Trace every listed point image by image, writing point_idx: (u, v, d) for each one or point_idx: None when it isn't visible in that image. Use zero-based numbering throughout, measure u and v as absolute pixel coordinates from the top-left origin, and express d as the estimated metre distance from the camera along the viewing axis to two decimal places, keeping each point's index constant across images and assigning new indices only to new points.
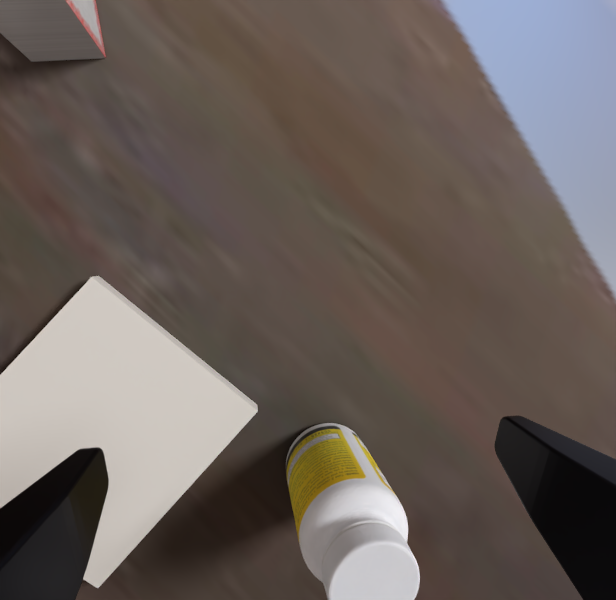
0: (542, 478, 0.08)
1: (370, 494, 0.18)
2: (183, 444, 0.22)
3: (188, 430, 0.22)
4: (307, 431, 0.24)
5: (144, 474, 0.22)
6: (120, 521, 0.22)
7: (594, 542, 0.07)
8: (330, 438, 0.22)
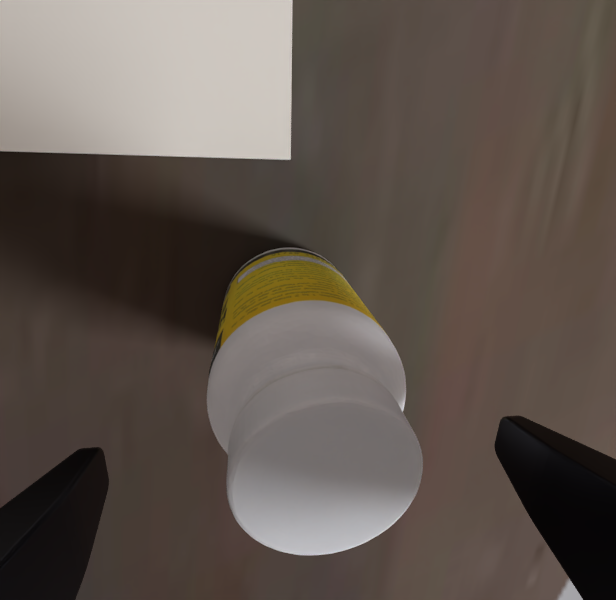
0: (542, 478, 0.08)
1: (396, 365, 0.10)
2: (160, 90, 0.12)
3: (185, 78, 0.12)
4: (309, 251, 0.15)
5: (65, 66, 0.12)
6: None
7: (594, 543, 0.07)
8: (342, 277, 0.14)
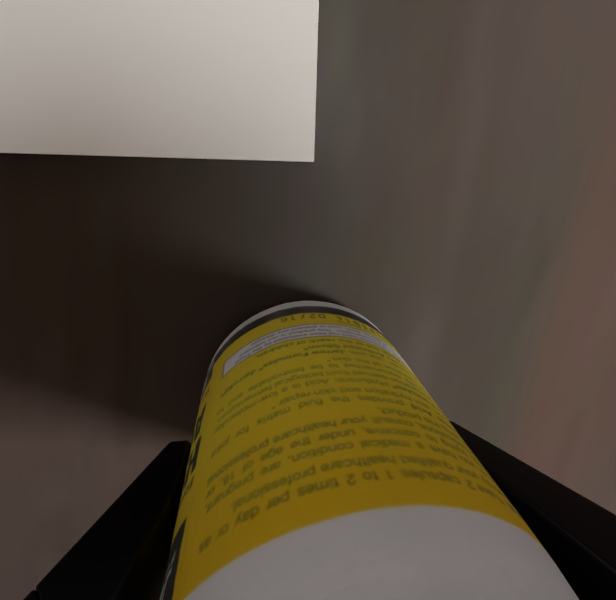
0: None
1: None
2: (77, 33, 0.07)
3: (124, 11, 0.07)
4: (340, 308, 0.10)
5: None
6: None
7: None
8: (401, 361, 0.08)
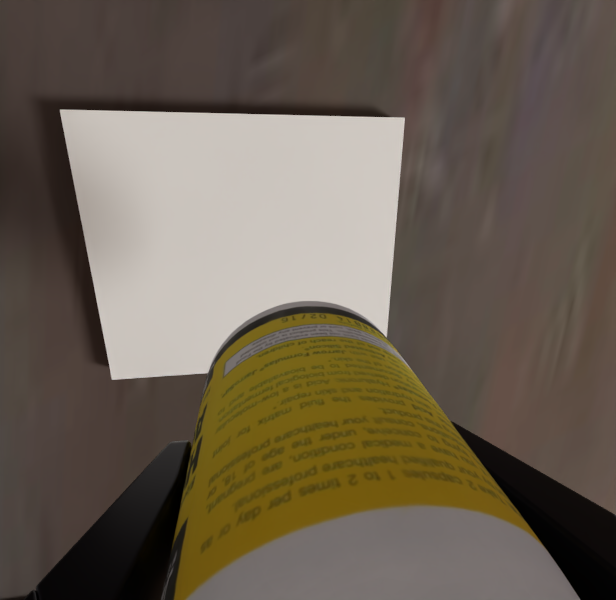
0: None
1: None
2: None
3: None
4: (341, 308, 0.10)
5: None
6: (192, 343, 0.19)
7: None
8: (402, 361, 0.08)
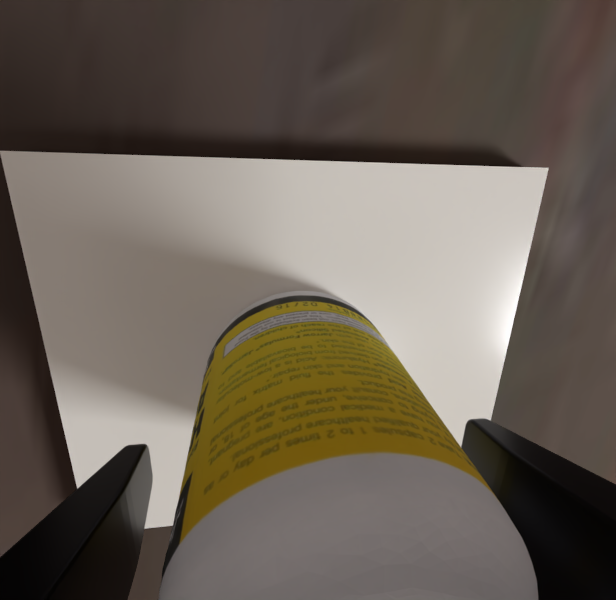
0: (503, 482, 0.08)
1: (531, 583, 0.05)
2: None
3: None
4: (332, 297, 0.10)
5: None
6: None
7: (550, 548, 0.07)
8: (386, 344, 0.09)
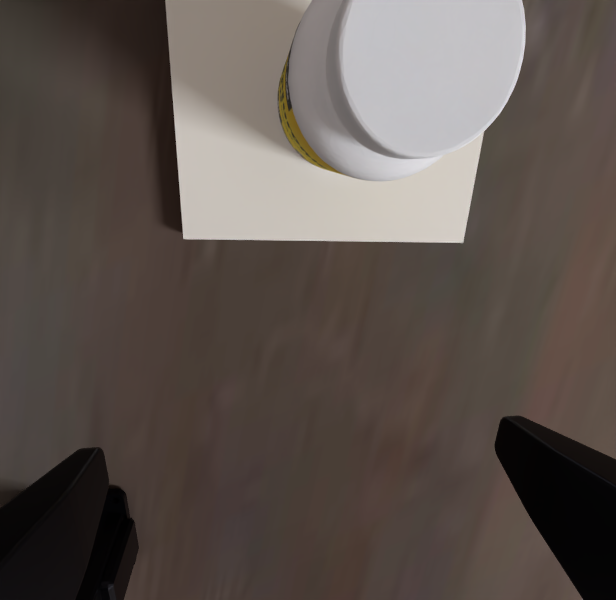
0: (542, 478, 0.08)
1: None
2: (388, 201, 0.18)
3: (406, 193, 0.18)
4: None
5: (334, 188, 0.18)
6: (269, 203, 0.18)
7: (593, 542, 0.07)
8: None
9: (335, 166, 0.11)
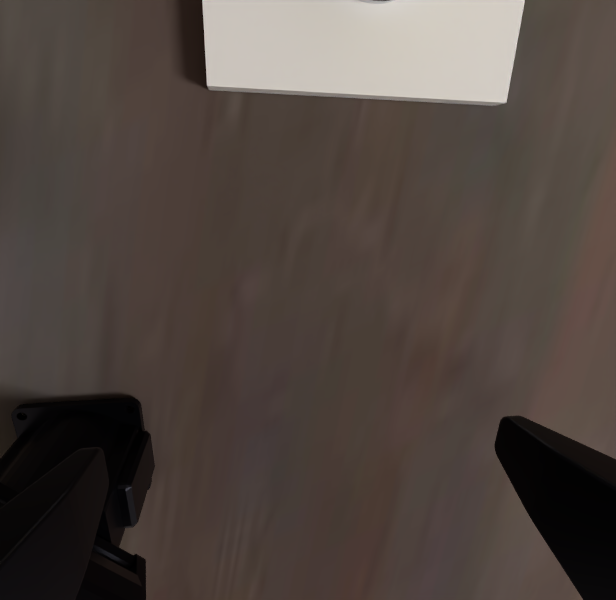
0: (542, 478, 0.08)
1: None
2: (428, 48, 0.17)
3: (447, 40, 0.17)
4: None
5: (370, 29, 0.16)
6: (300, 45, 0.16)
7: (594, 542, 0.07)
8: None
9: None
